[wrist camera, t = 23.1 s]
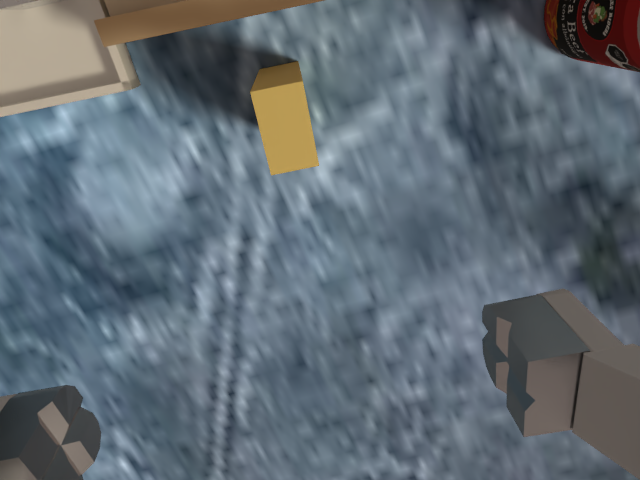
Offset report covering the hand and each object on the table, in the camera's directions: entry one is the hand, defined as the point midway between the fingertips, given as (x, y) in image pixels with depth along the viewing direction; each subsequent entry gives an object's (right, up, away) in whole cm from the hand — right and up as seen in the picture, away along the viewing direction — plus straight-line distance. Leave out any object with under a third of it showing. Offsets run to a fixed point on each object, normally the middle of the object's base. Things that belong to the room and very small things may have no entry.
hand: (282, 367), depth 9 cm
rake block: (-2, +14, +26) cm, 29 cm away
